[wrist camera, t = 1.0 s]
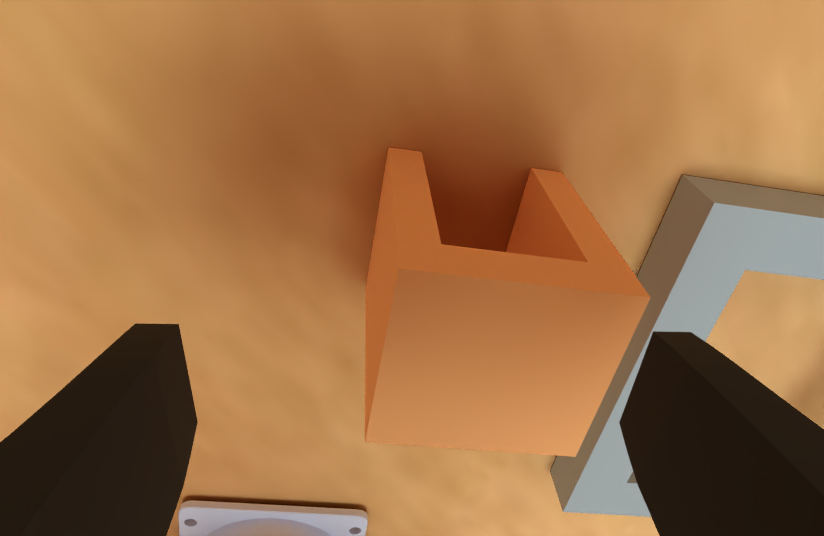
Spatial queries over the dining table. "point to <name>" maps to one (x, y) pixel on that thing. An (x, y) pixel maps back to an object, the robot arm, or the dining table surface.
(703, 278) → the grey rod frame
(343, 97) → the dining table surface
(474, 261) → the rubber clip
